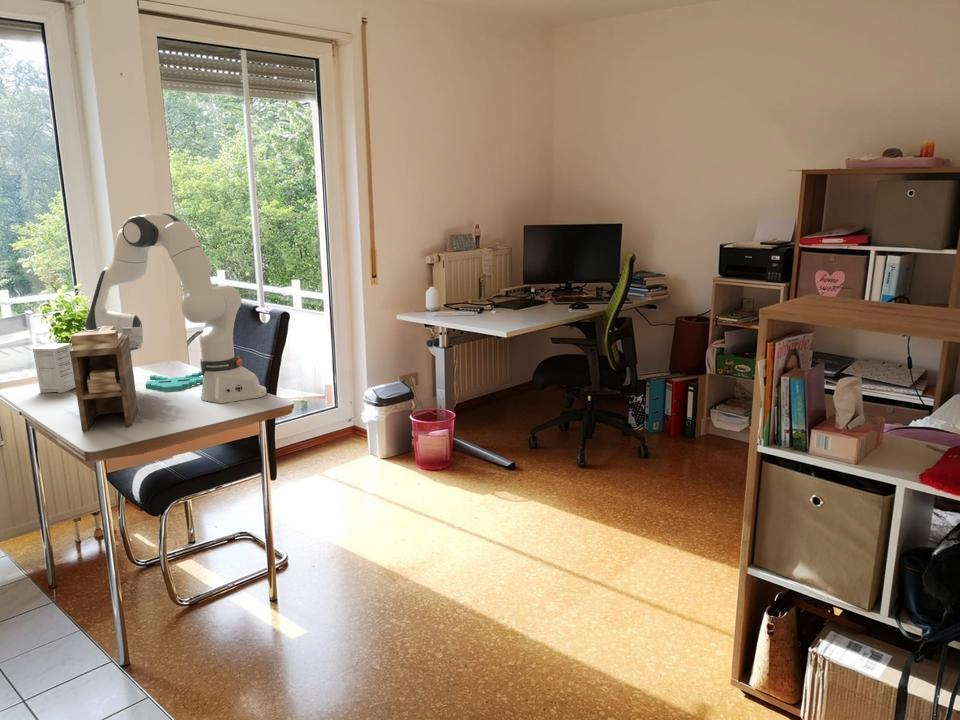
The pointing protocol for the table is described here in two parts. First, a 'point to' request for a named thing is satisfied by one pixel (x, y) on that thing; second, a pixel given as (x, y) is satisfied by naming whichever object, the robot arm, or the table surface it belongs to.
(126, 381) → the walnut shelf
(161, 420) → the table surface
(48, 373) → the supplement box
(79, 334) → the plywood board
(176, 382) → the alien figure
